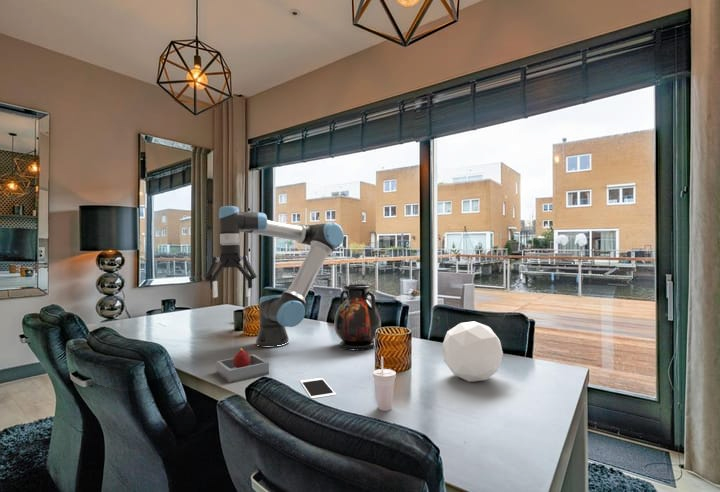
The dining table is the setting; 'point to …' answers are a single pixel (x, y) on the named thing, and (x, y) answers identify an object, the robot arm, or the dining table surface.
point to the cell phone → (317, 388)
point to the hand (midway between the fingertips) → (231, 296)
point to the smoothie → (384, 387)
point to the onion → (241, 359)
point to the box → (242, 369)
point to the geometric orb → (472, 351)
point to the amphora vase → (357, 318)
